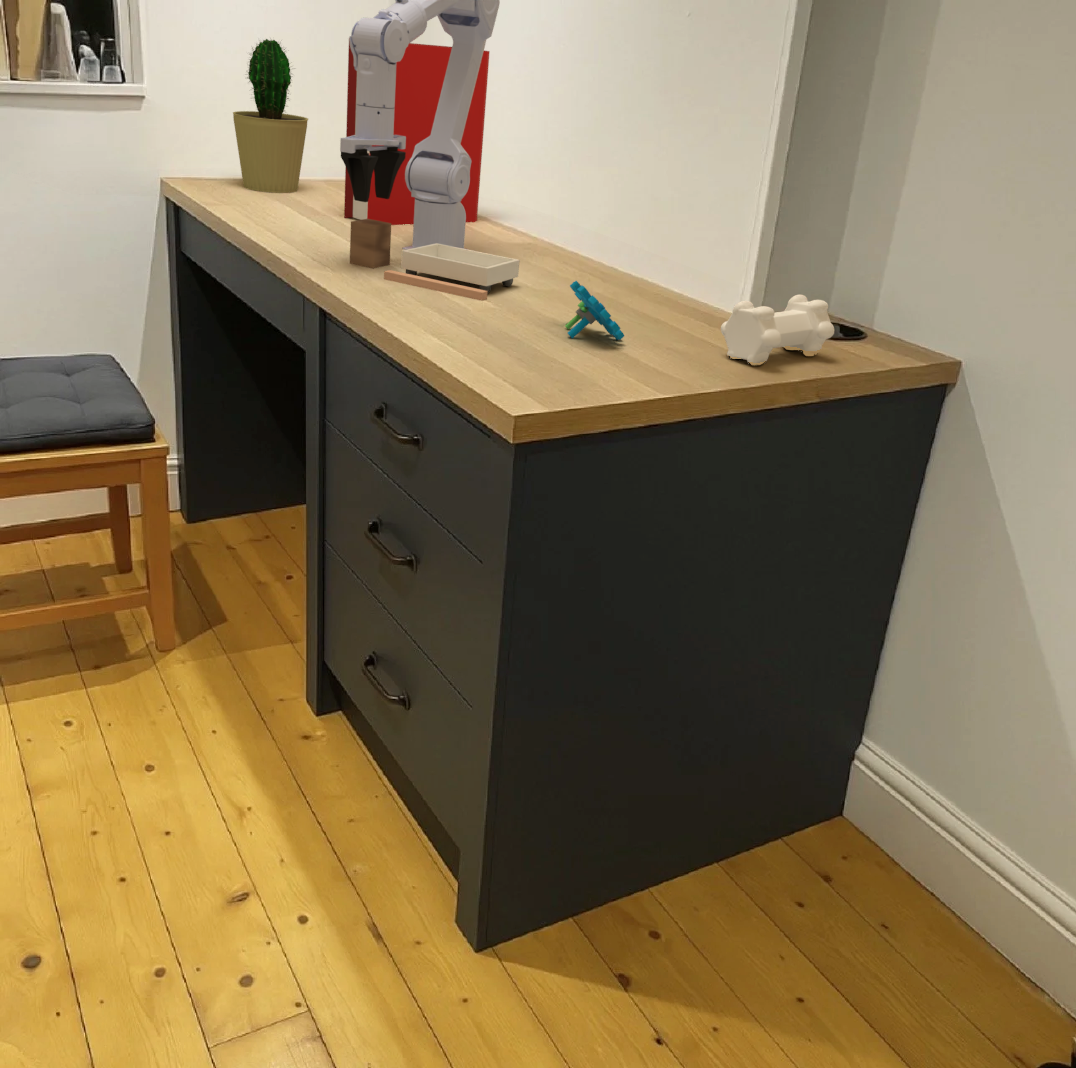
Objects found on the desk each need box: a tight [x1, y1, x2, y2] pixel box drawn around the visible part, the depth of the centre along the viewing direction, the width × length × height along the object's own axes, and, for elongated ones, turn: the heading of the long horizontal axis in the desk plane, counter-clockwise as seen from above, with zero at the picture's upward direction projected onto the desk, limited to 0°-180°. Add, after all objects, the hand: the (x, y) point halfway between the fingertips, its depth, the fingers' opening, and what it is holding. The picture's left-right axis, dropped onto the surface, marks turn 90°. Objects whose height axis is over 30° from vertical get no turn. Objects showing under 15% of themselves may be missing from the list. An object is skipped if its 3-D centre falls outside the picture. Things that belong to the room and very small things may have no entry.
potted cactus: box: [232, 37, 309, 194], centre depth 231 cm, size 15×15×30 cm
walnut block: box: [349, 219, 392, 270], centre depth 174 cm, size 4×4×7 cm
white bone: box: [720, 294, 835, 363], centre depth 148 cm, size 15×9×8 cm, turn 131°
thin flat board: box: [383, 269, 488, 301], centre depth 173 cm, size 23×17×2 cm
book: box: [343, 41, 490, 226], centre depth 213 cm, size 27×8×32 cm, turn 131°
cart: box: [400, 243, 521, 295], centre depth 170 cm, size 10×15×4 cm, turn 63°
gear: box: [564, 280, 625, 341], centre depth 148 cm, size 11×6×10 cm
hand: (372, 199), depth 171 cm, fingers open, 5 cm apart
